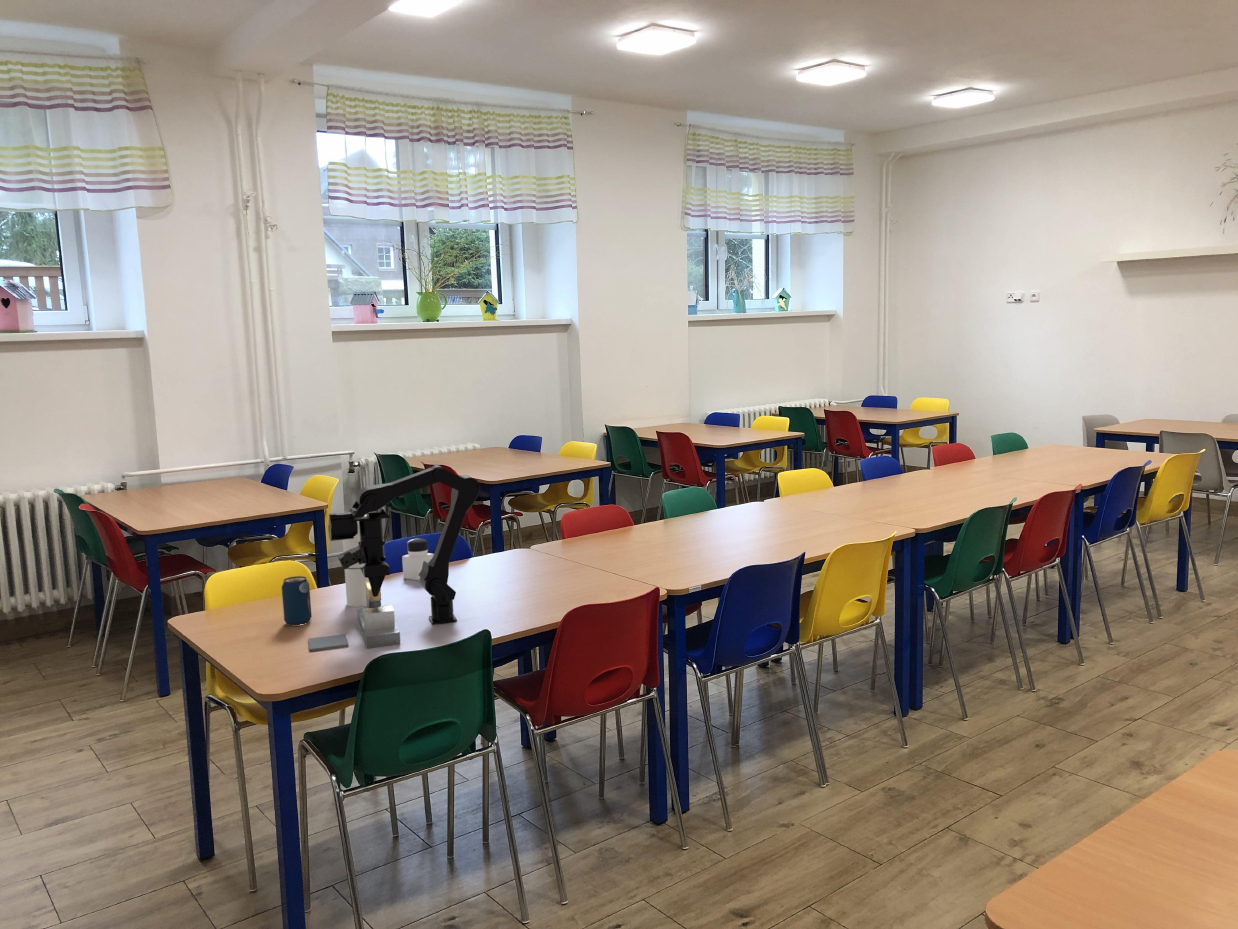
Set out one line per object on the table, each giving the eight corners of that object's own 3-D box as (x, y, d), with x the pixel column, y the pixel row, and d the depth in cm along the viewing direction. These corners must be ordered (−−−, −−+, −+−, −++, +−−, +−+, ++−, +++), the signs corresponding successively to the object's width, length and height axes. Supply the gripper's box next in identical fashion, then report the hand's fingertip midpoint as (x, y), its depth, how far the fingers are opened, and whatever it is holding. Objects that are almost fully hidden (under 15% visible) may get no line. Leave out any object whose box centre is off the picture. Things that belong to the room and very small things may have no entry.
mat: (308, 640, 238) (308, 638, 238) (345, 636, 241) (345, 633, 241) (309, 651, 230) (309, 649, 230) (348, 646, 233) (348, 644, 233)
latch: (365, 592, 255) (365, 581, 254) (377, 591, 256) (376, 580, 255) (369, 601, 245) (368, 590, 245) (381, 600, 246) (380, 589, 246)
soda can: (316, 622, 254) (313, 578, 252) (292, 628, 249) (288, 583, 247) (304, 617, 259) (301, 574, 257) (279, 623, 254) (276, 579, 252)
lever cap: (364, 624, 240) (363, 609, 240) (392, 621, 243) (391, 605, 242) (366, 630, 236) (365, 614, 235) (395, 626, 238) (394, 610, 237)
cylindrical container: (377, 602, 272) (372, 515, 268) (355, 608, 266) (349, 519, 263) (364, 598, 276) (358, 513, 273) (342, 603, 271) (336, 517, 268)
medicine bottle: (435, 575, 301) (433, 538, 299) (419, 581, 295) (417, 542, 293) (419, 573, 304) (417, 536, 303) (402, 578, 299) (400, 540, 297)
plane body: (357, 619, 255) (356, 594, 254) (388, 616, 258) (386, 590, 257) (366, 648, 231) (365, 620, 230) (400, 644, 233) (398, 616, 232)
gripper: (336, 533, 248) (340, 591, 251) (341, 546, 231) (345, 609, 233) (379, 529, 252) (383, 586, 254) (388, 542, 235) (392, 604, 237)
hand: (375, 596), depth 245 cm, fingers closed
